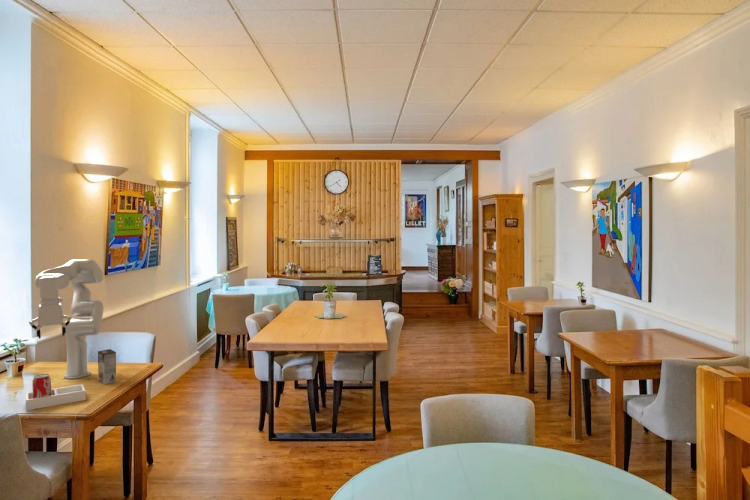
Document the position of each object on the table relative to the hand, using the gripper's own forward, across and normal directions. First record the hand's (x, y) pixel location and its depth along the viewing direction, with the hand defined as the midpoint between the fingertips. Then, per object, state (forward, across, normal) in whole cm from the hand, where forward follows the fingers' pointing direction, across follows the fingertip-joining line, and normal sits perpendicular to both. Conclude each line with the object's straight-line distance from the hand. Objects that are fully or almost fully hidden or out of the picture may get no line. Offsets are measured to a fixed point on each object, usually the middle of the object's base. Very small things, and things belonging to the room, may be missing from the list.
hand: (51, 336), depth 240 cm
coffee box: (+30, -24, -6) cm, 38 cm away
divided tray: (+28, 0, +14) cm, 31 cm away
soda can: (+27, +5, +14) cm, 31 cm away
